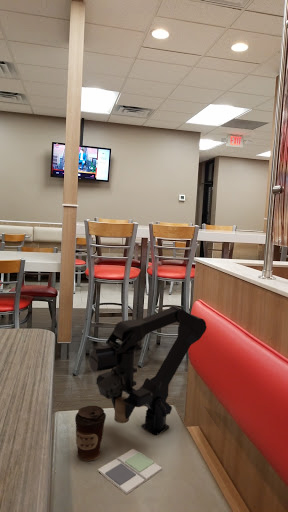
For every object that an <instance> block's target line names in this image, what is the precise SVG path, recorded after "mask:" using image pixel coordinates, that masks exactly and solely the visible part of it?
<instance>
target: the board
mask: <svg viewBox="0 0 288 512" xmlns="http://www.w3.org/2000/svg"><path fill="white" fill-rule="evenodd" d="M162 470H163V467H161V466H160V465H158V464H157V463H155V461H153V460H152V459H150V458H149V457H148V456H146V455H144V454H143V453H141V452H139V451H137V450H136V449H135V448H131V450H129V451H127V452H125V453H123V454H122V455H120V456H115V459H113V460H111V461H109V462H108V463H106V464H105V465H103V466H101V467H99V468H97V473H99V472H100V473H101V475H102V476H103V477H104V478H105V479H106V480H108V481H109V482H111V483H112V484H113V485H114V486H115V487H117V488H118V489H119V490H120V491H121V492H122V493H124V494H125V495H128V494H130V492H132V491H134V490H135V489H137V488H138V487H140V486H141V485H143V484H144V483H145V482H147V481H148V480H149V479H151V478H152V477H154V476H155V475H157V474H159V473H160V472H161V471H162ZM100 473H99V474H100Z"/></svg>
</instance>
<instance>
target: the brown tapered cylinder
mask: <svg viewBox="0 0 288 512" xmlns="http://www.w3.org/2000/svg"><path fill="white" fill-rule="evenodd" d="M127 397H128V396H122V397H117V398H116V399H115V410H114V421H115V422H116V423H118V424H125V423H128V422H129V421H130V417H129V418H128V419H126V415H125V405H126V404H125V402H123V400H124V399H126V398H127Z"/></svg>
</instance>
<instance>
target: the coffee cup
mask: <svg viewBox="0 0 288 512" xmlns="http://www.w3.org/2000/svg"><path fill="white" fill-rule="evenodd" d="M106 417H107V415H106V413H105V410H104V409H103V408H102V407H101V406H98V405H87V406H84V407H80V408H79V409H78V411H77V413H76V414H75V416H74V418H75V419H74V421H75V436H76V437H75V442H76V443H75V444H76V447H77V452H76V453H77V457H78V459H80V460H82V461H86V462H87V461H95V460H97V459H99V458H100V456H101V450H100V449H101V444H102V440H103V436H104V428H105V427H104V425H105V422H106V419H107V418H106Z"/></svg>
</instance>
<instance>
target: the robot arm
mask: <svg viewBox="0 0 288 512" xmlns="http://www.w3.org/2000/svg"><path fill="white" fill-rule="evenodd" d="M174 323H178V324H179V325H178V326H177V337H176V338H175V341H174V343H173V344H172V346H171V348H170V350H169V352H168V353H167V355H166V357H165V359H164V361H162V364H161V365H160V367H159V369H158V371H157V372H156V374H155V376H153V377H152V378H150V379H149V378H148V377H146V378H145V379H144V382H143V384H142V385H141V386H140V387H139V388H134V387H135V386H137V381H136V380H134V377H135V375H134V374H135V373H137V372H138V368H136V367H135V363H136V362H135V360H136V358H135V357H136V352H137V351H141V350H142V348H143V347H141V346H140V344H138V343H139V342H141V341H142V340H144V338H145V336H147V335H148V334H151V333H153V332H155V331H158V330H160V329H163V328H165V327H167V326H170V325H172V324H174ZM207 327H208V326H207V322H206V320H205V319H203V318H201V317H199V316H197V315H194V314H191V313H189V312H187V311H186V310H184V309H183V308H181V307H179V306H176V305H172V306H170V307H169V308H166V309H163V310H161V311H159V312H156V313H153V314H151V315H148V316H145V317H143V318H140V319H127V320H123V321H119V322H117V323H116V324H115V327H114V329H113V331H112V332H111V333H110V335H109V336H108V338H107V340H106V341H105V344H106V345H104V346H103V345H100V346H98V345H96V346H93V347H92V348H93V349H92V351H91V352H90V354H89V358H88V361H89V367H90V368H91V371H92V372H94V373H97V372H101V371H106V370H108V371H107V372H104V373H100V374H99V375H98V376H97V378H96V382H95V383H96V385H97V388H98V390H99V391H98V392H99V394H100V396H103V397H105V398H106V399H107V400H110V401H111V403H112V407H113V409H114V411H115V399H116V398H117V397H123V394H127V396H126V397H127V398H126V399H124V400H123V402H125V404H126V405H125V415H126V419H128V418H129V419H130V417H131V415H132V413H133V412H134V410H135V408H136V407H137V408H140V407H143V406H145V407H146V408H147V409H146V411H145V412H146V413H145V418H144V423H143V424H142V425H141V427H142V429H144V430H146V431H148V432H149V433H151V434H152V435H155V436H158V435H160V434H161V433H163V432H164V431H167V430H168V429H170V425H168V424H167V423H166V422H167V416H168V415H170V414H171V412H172V409H173V406H171V405H170V404H169V403H168V402H167V399H168V397H169V385H170V383H171V382H172V379H173V378H174V376H175V374H176V373H177V371H178V368H179V367H180V366H181V364H182V361H183V360H184V359H185V356H186V354H187V353H188V351H189V349H190V348H191V346H192V345H194V344H195V343H196V342H198V341H199V340H200V339H201V338H202V336H204V334H205V333H206V331H207ZM117 341H119V342H120V343H121V344H120V343H119V342H117Z"/></svg>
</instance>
